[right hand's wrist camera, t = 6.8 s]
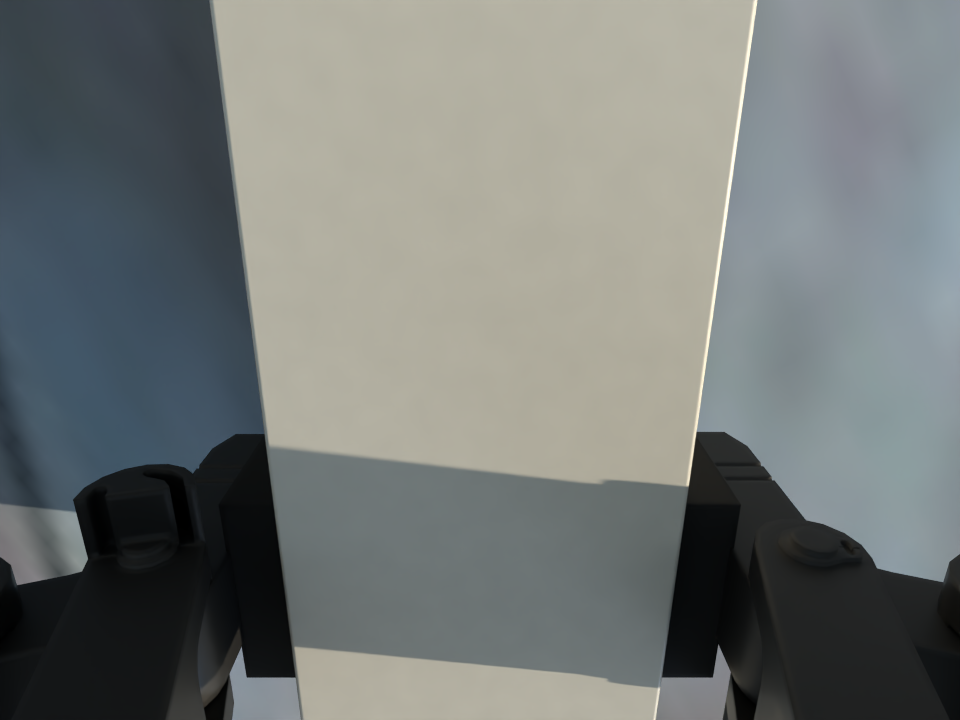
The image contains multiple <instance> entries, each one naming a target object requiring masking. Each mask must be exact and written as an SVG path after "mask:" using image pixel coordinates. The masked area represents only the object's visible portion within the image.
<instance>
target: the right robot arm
mask: <svg viewBox="0 0 960 720" xmlns="http://www.w3.org/2000/svg"><path fill="white" fill-rule="evenodd" d="M73 501H74V505H75V509H76V513H77V517H78V521H79V525H80V529H81V533H82V537H83V541H84V544H85V548H86V552H87V556H88V560H87V563H86V565H85V567H84V569H83V571H82V572H79V573H75V574H71V575H67V576H62V577H57V578H52V579H47V580H42V581H37V582H32V583H27V584H22V585H17V584H16V581H15V577H14V574H13V571H12V568H11V565H10V564H9V563H7V562H6V561H5V560H3V559H2V558H1V557H0V720H232V715H233V706H234V699H233V693H232V686H231V681H230V675H229V674H230V671H231V669H232V667H233V664H234V662H235V660H236V658H237V655H238V653H239V651H240V649H241V646H242V651H243V657H244V663H245V669H246V675H247V677H296V676H295V668H294V660H293V652H292V645H291V637H290V629H289V621H288V613H287V605H286V597H285V590H284V582H283V574H282V566H281V558H280V550H279V543H278V535H277V527H276V519H275V511H274V503H273V496H272V488H271V480H270V472H269V464H268V456H267V449H266V441H265V434H235V435H234V436H232V437H230V438H229V439H227V440H226V441H224V442H222V443H221V444H219V445H218V446H216V447H214V448H213V449H212V450H211V451H210V452H209V454H208V455H207V456H206V458H205V459H204V460H203V461H202V463H201V464H200V465H199V469H196V470H195V472H194V473H193V474H192V473H191V472H190V471H188V470H187V469H186V468H184V467H179V466H175V465H170V464H155V465H143V466H138V467H133V468H128V469H124V470H121V471H118V472H115V473H113V474H110V475H107V476H104V477H102V478H100V479H99V480H97V481H95V482H93V483H92V484H90V485H88V486H87V487H85V488H84V489H83V490H82V491H81V492H80V493H79V494H78V495H77V496H76V497H75V498H74V499H73ZM718 644H719V646H720V648H721V651H722V653H723V655H724V657H725V660H726V662H727V664H728V666H729V669H730V671H731V675H730V681H729V686H728V692H727V698H726V703H725V709H724V715H723V720H960V554H959V555H958V556H957V557H956V558H954V559H953V560H952V561H950V562H949V566H948V569H947V572H946V576H945V579H944V582H938V581H933V580H928V579H923V578H918V577H913V576H908V575H903V574H898V573H893V572H889V571H885V570H881V569H877V568H876V566H875V563H874V561H873V559H872V558H871V556H870V555H869V554H868V553H867V551H866V550H865V549H864V548H863V546H862V545H861V544H859V543H858V542H856V541H855V540H853V539H852V538H850V537H849V536H848V535H846V534H845V533H843V532H840V531H838V530H835V529H833V528H831V527H828V526H826V525H824V524H820V523H815V522H811V521H806V520H805V519H804V517H803V516H802V515H801V514H800V512H799V511H798V510H797V508H796V507H795V506H794V505H793V503H792V502H791V501H790V500H789V498H788V497H787V496H786V495H785V493H784V492H783V491H782V489H781V488H780V487H779V486H778V484H777V483H776V482H775V481H772V477H771V476H770V474H769V473H768V472H767V470H766V469H765V468H764V467H763V466H761V463H760V462H759V460H758V459H757V458H756V457H755V455H754V454H753V453H752V451H751V450H750V449H749V448H748V446H746V445H744V444H743V443H741V442H740V441H738V440H736V439H735V438H733V437H731V436H730V435H728V434H727V433H725V432H696V438H695V445H694V452H693V460H692V467H691V474H690V481H689V488H688V495H687V502H686V509H685V516H684V523H683V530H682V538H681V545H680V552H679V559H678V566H677V573H676V580H675V587H674V594H673V601H672V608H671V616H670V623H669V630H668V637H667V644H666V651H665V658H664V665H663V672H662V677H713V673H714V667H715V661H716V655H717V649H718Z"/></svg>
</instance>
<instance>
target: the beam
mask: <svg viewBox="0 0 960 720" xmlns="http://www.w3.org/2000/svg"><path fill="white" fill-rule="evenodd" d="M209 2H210V10H211V18H212V26H213V33H214V41H215V49H216V57H217V65H218V73H219V80H220V88H221V96H222V104H223V112H224V120H225V127H226V135H227V143H228V151H229V159H230V167H231V174H232V182H233V190H234V198H235V206H236V214H237V221H238V229H239V237H240V245H241V253H242V261H243V268H244V276H245V284H246V292H247V300H248V308H249V315H250V323H251V331H252V339H253V347H254V355H255V362H256V370H257V378H258V386H259V394H260V402H261V409H262V417H263V425H264V433H265V441H266V449H267V456H268V464H269V472H270V480H271V488H272V496H273V503H274V511H275V519H276V527H277V535H278V543H279V550H280V558H281V566H282V574H283V582H284V590H285V597H286V605H287V613H288V621H289V629H290V637H291V645H292V652H293V660H294V668H295V676H296V684H297V692H298V699H299V707H300V715H301V720H656V715H657V708H658V701H659V694H660V686H661V679H662V672H663V665H664V658H665V651H666V644H667V637H668V630H669V623H670V616H671V608H672V601H673V594H674V587H675V580H676V573H677V566H678V559H679V552H680V545H681V538H682V530H683V523H684V516H685V509H686V502H687V495H688V488H689V481H690V474H691V467H692V460H693V452H694V445H695V438H696V431H697V424H698V417H699V410H700V403H701V396H702V389H703V382H704V374H705V367H706V360H707V353H708V346H709V339H710V332H711V325H712V318H713V311H714V304H715V296H716V289H717V282H718V275H719V268H720V261H721V254H722V247H723V240H724V233H725V225H726V218H727V211H728V204H729V197H730V190H731V183H732V176H733V169H734V162H735V155H736V147H737V140H738V133H739V126H740V119H741V112H742V105H743V98H744V91H745V84H746V77H747V69H748V62H749V55H750V48H751V41H752V34H753V27H754V20H755V13H756V6H757V0H209Z"/></svg>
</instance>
